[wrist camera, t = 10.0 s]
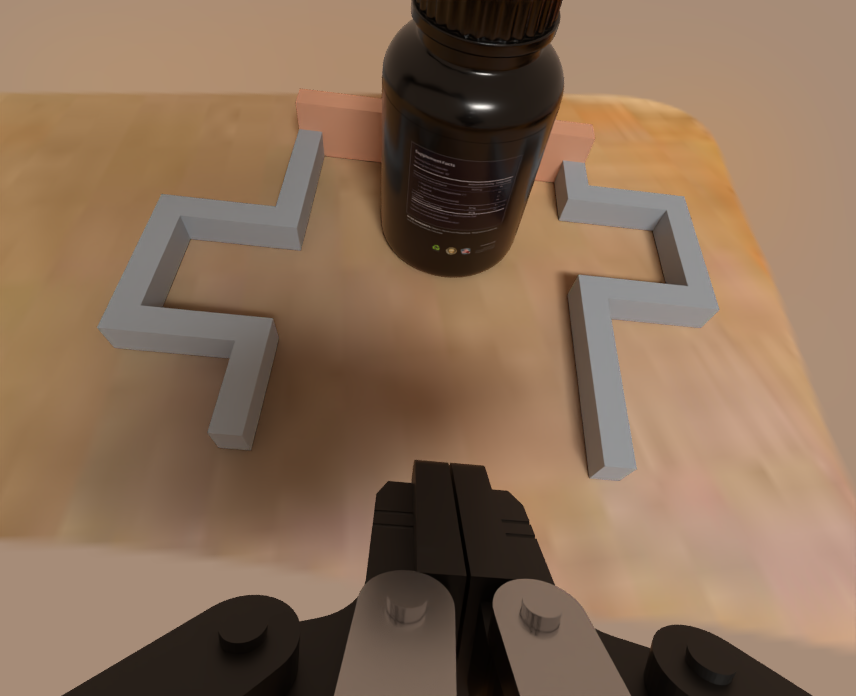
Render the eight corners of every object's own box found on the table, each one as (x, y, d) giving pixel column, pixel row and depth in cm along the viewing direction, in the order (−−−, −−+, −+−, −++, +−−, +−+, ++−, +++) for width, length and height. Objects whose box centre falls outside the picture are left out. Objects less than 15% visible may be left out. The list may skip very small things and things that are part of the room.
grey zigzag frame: (74, 435, 18) (26, 401, 16) (213, 128, 28) (196, 75, 25) (746, 491, 20) (803, 468, 17) (659, 181, 29) (686, 136, 27)
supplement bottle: (385, 179, 27) (393, -107, 17) (508, 191, 27) (590, -80, 17) (373, 277, 23) (374, -10, 13) (515, 290, 24) (623, 22, 14)
